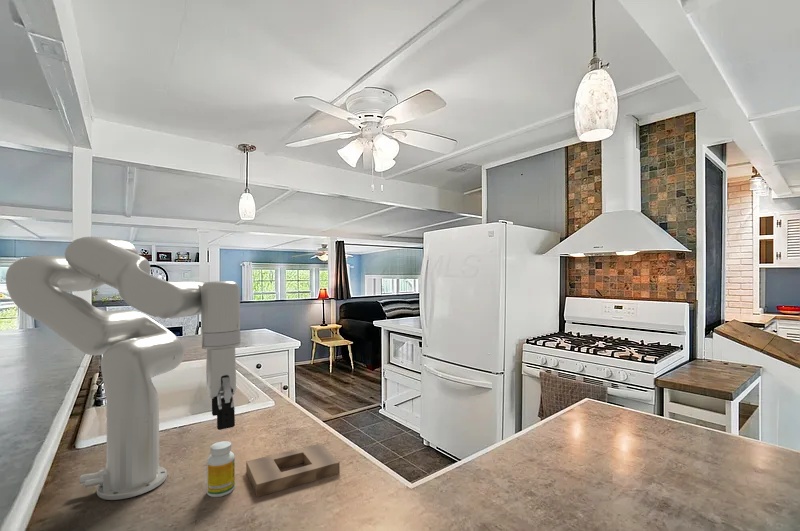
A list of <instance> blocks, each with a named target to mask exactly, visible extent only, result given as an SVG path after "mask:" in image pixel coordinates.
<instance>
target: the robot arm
mask: <svg viewBox="0 0 800 531" xmlns="http://www.w3.org/2000/svg"><path fill="white" fill-rule="evenodd" d="M103 285H108V286H110V287H111V288H114V289H116V290H118V294H119V295H120V298H121V299H122V300H123V301H124V302H125V304H127V305H128V306H129V307H132V308H134V309H135V310H132V309H123V310H111V311H110V310H102V309H100V308H98V307H96V306H94V305H93V304H91V303H90V302H89V301H87V300H86V299H84V298H83V297H80V296H78V295H76V294H73V293H71V292H84V291H85V292H86V291H90V290H93V289H95V288H99V287H101V286H103ZM5 286H6V289H7V293H8V295H9V297H10V298H11V300H12V302H13V303H14V305H16V306H17V307H18V308H19V309H20V310H21V311H22V312H23V313H24V314H26V315H27V316H29V317H31V319H34V320H36V321H38V322H39V323H41V324H42V325H44V326H46V327H47V328H49V329H50V330H52V331H53V332H54V333H56V334H57V335H58V336H60V337H61V338H62V339H63V340H65V341H66V342H68V343H69V344H70V345H72V346H74V347H75V348H76V349H77V350H79V351H80V352H82V353H83V354H85V355H89V356H102V358H101V361H100V371H101V375H102V380H103V385H104V389H105V400H106V401H105V402H106V405H105V406H106V408H105V409H106V414H105V415H106V454H105V455H106V464H105V465H104V466H105V467H104V468H103V469H99V471H96V472H91V473H84V474H81V475H80V477H79V486H82V485H84V488H85V489H86V488H91V487H94V486H97V487H96V495H97V497H98V498H100V499H102V500H108V501H109V500H110V501H116V500H123V499H124V500H125V499H129V498H134V497H136V496H140V495H143V494H146V493H147V492H149V491H152V490H155V489H156V488H158V487H159V486H161V484H163V483H164V482H165V481H166V479H167V476H168V471H167V469H166V468H165V467H163V466H160V398H159V394H158V391H157V388H156V387H155V385H154V384H153V381H152V378H154V377H157V376H160V375H162V374H166V373H168V372H170V371H173V370H175V369H176V368H178V367H179V366H180V365H181V363H182V362H183V360H184V358H185V348H184V344H183V343H182V341H181V339H180V338H179V337H178V336H177V335H176V334H174V333H173V331H170V330H169V329H168V328H167V327H165V326H164V325H162V324H160V323H159V322H157V321H156V320H154V319H153V318H152V317H154V318H158V319H163V320H170V319H177V318H184V317H194V316H198V315H199V316H200V318H201V319H200V320H201V323H200V324H201V349H204V350H206V366H205V367H206V368H205V369H206V373H205V374H206V375H205V376H206V381H205V383H206V385H205V390H206V392H207V393H206V394H207V395H208V397H209V398H210V399H211V415H212V416H214V417H215V416H216V428H217V430H219V431H220V430H226V429H230V428H234V427H235V426H236V424H235V423H236V420H235V418H236V417H235V416H236V415H235V403H234V395H235V394H236V392H237V373H236V372H237V362H236V361H237V360H236V359H237V358H236V347H240V346H241V345H242V343H241V306H240V305H241V300H240V299H241V298H240V296H241V295H240V285H239V284H238V283H237V282H236V281H232V280H228V281H227V280H224V281H223V280H222V281H221V280H217V281H199V280H198V281H197V280H195V281H193V280H192V281H189V280H184V281H183V280H181V281H178V280H177V281H167V280H165V279H162V278H158V277H156V276H154V275H151V264H150V262H149V260H148V259H147V258H146V257H144V256H142V255H140V254H139V252H138V250H137V249H136V247H135V246H134V245H133V244H132V243H131V242H129V241H126V240H124V239H117V238H107V237H98V236H83V237H79V238H76V239H75V240H73V241H71V242H70V243H69V244H68V245H67V246H66V248H65V251H64V255H46V254H44V255H32V256H27V257H21V258H20V259H18V260H16V261H14V262H13V263H11V264H10V265H9V267H8V268H7V271H6V274H5ZM136 310H137V311H136ZM148 315H149V316H148ZM150 316H151V317H150Z"/></svg>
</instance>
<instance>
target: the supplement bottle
mask: <svg viewBox="0 0 800 531" xmlns="http://www.w3.org/2000/svg"><path fill="white" fill-rule="evenodd" d="M209 448H210V452H209V454H210V455H209V456H208V457H207V460H206V494H207V495H208V496H209V497H211V498H221V497H224V496H226V495H229V494H230V493H231V492H233V491H234V489H235V484H236V483H235V478H236V475H235V464H236V463H235V462H236V460H235V454H234V452H233V451H231V450H232V442H231V441H228V440H225V441H224V440H222V441H217V442H215V443H213V444H211V445H210V447H209Z"/></svg>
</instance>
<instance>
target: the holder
mask: <svg viewBox="0 0 800 531" xmlns="http://www.w3.org/2000/svg"><path fill="white" fill-rule="evenodd" d="M245 462H246V466H245V467H246V468H245V471H246V472H245V473H246V475H247V477H248V480H249V482H250V484H251V487H252V489H253V491H254V493H255V496H256V498H258V497H261V496H265V495H268V494H269V495H270V494H273V493H276V492H279V491H283V490H286V489H287V490H288V489H290V488H293V487H297V486H300V485H304V484H308V483H311V482H315V481H318V480H322V479H325V478H328V477H331V476H335V475H340V473H341V472H340V465H341V464H340V461H338V459H337V458H336V457H335V456H334V455H333V454H332V452H331V451H330V450H328V448H326V447H325V445H324V444H323V443H322V442H321V443H318V444H313V445H309V446H305V447H300V448H296V449H293V450H292V449H291V450H289V451H284V452H279V453H274V454H272V455H267V456H264V457H263V456H262V457H258V458H255V459H249V460H247V461H245ZM300 464H303V465H304V466H300V467H296V468H291V469H288V470H284V471H281V469H285V468H289V467H293V466H296V465H300Z"/></svg>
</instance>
